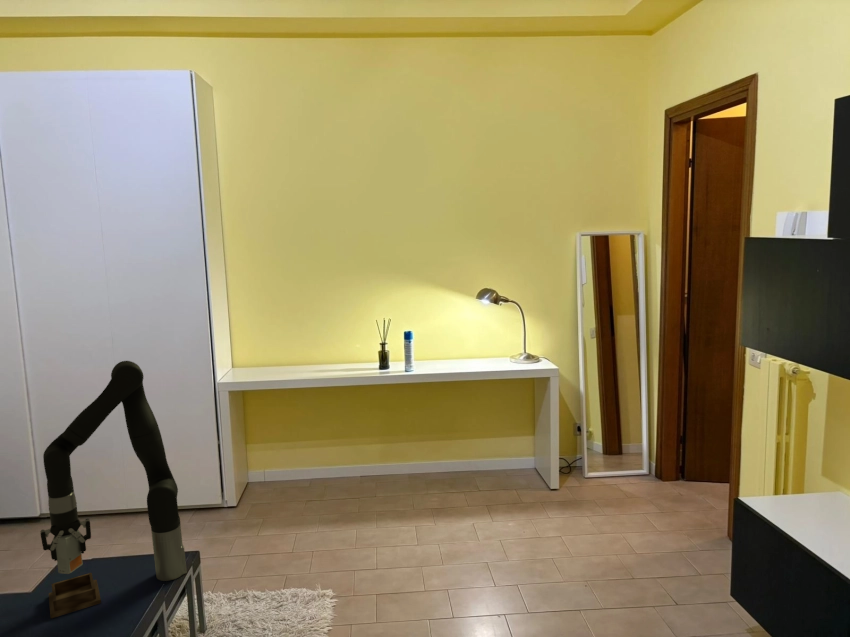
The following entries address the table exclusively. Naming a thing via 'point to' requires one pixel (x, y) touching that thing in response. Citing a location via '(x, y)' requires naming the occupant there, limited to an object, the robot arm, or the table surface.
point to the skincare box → (68, 554)
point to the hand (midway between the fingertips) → (69, 555)
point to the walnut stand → (73, 595)
